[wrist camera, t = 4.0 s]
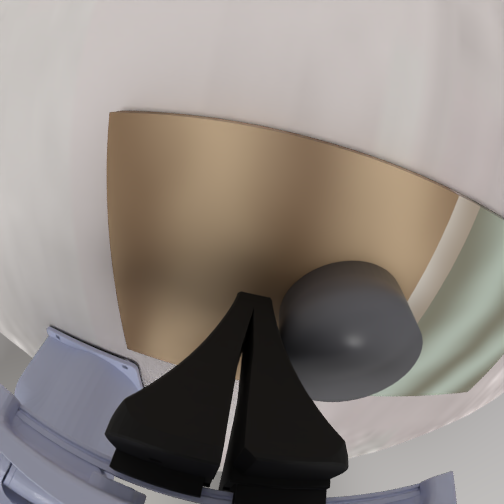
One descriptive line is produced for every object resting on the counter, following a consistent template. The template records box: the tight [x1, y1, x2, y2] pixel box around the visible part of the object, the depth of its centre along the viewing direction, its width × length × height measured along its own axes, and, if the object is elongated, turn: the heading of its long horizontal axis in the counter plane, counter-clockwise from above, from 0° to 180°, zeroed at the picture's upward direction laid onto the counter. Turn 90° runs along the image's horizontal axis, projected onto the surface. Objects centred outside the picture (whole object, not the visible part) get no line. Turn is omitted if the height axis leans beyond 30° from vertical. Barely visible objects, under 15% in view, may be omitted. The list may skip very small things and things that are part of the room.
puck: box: [278, 261, 423, 402], centre depth 11 cm, size 6×6×3 cm
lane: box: [107, 111, 504, 396], centre depth 12 cm, size 28×14×1 cm, turn 79°
